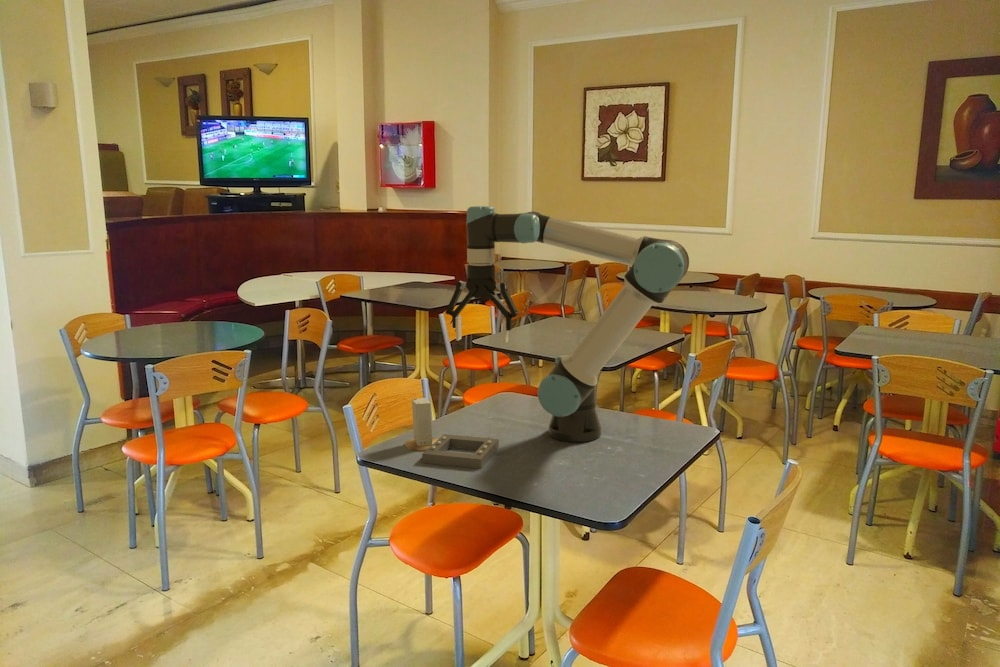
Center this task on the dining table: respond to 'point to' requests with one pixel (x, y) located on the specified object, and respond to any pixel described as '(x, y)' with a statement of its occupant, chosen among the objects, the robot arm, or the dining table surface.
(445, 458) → the studded square frame
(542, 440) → the dining table surface
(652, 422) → the dining table surface
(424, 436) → the skincare box
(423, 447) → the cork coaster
